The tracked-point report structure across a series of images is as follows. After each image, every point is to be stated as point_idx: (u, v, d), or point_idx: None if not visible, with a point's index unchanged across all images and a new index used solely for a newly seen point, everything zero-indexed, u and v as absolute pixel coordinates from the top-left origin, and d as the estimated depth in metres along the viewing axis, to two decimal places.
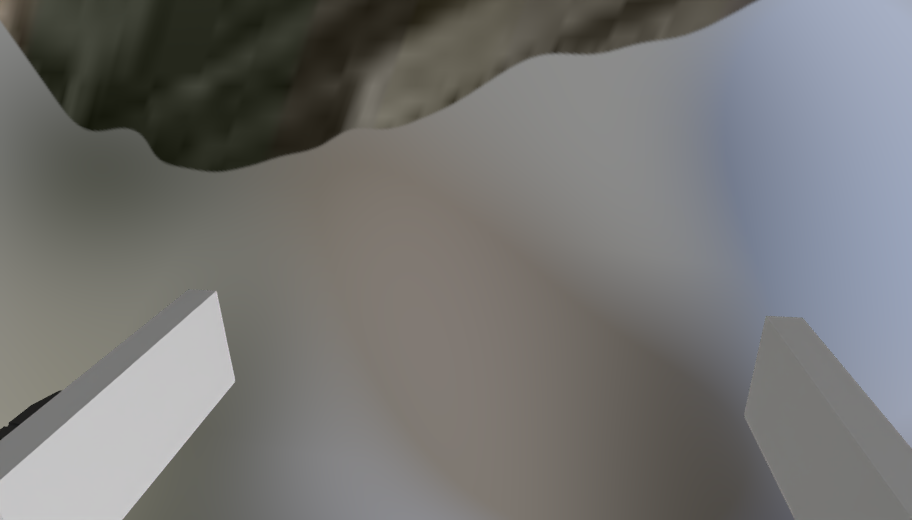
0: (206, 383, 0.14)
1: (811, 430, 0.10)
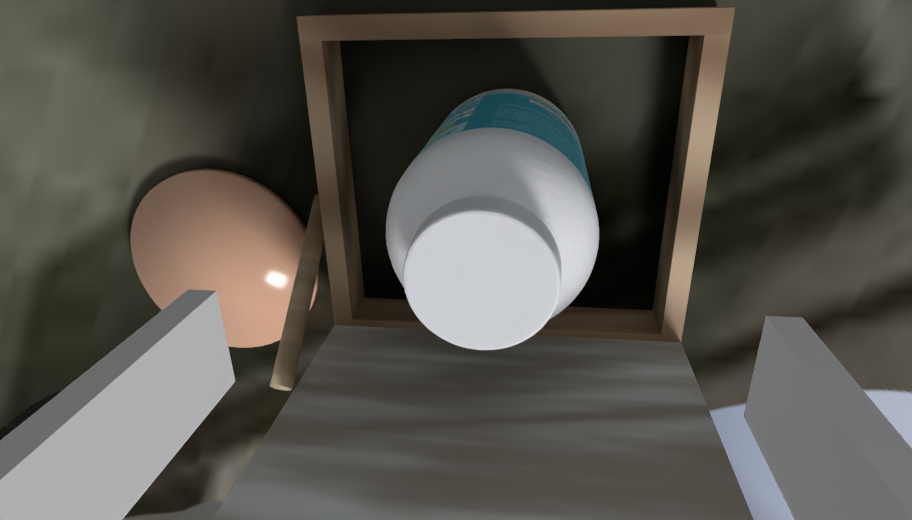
0: (206, 383, 0.14)
1: (810, 430, 0.10)
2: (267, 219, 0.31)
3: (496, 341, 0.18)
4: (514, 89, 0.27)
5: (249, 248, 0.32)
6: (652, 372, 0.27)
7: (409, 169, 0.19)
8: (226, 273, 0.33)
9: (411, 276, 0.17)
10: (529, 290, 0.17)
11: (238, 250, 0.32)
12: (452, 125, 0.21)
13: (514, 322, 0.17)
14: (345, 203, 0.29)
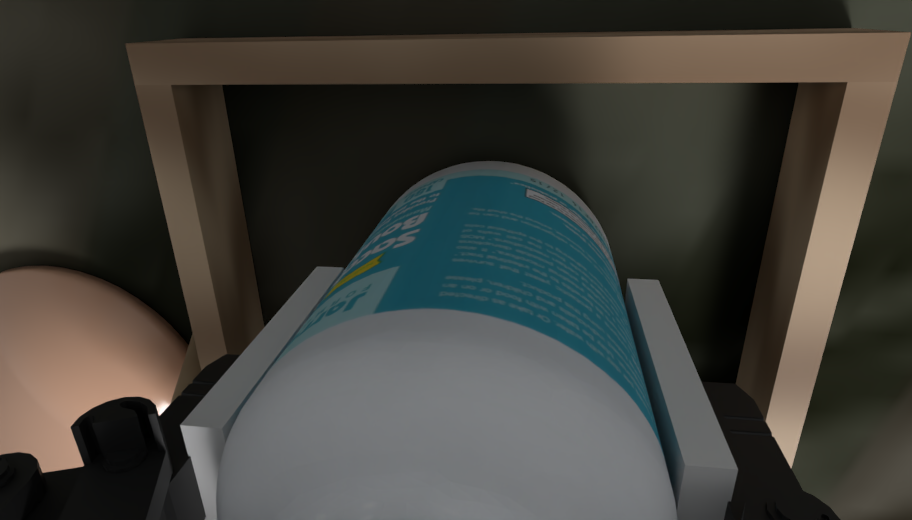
0: None
1: (641, 368, 0.12)
2: (132, 341, 0.21)
3: None
4: (502, 163, 0.16)
5: (110, 380, 0.22)
6: None
7: (253, 401, 0.08)
8: (82, 412, 0.23)
9: None
10: None
11: (95, 382, 0.22)
12: (371, 267, 0.11)
13: None
14: (238, 331, 0.19)
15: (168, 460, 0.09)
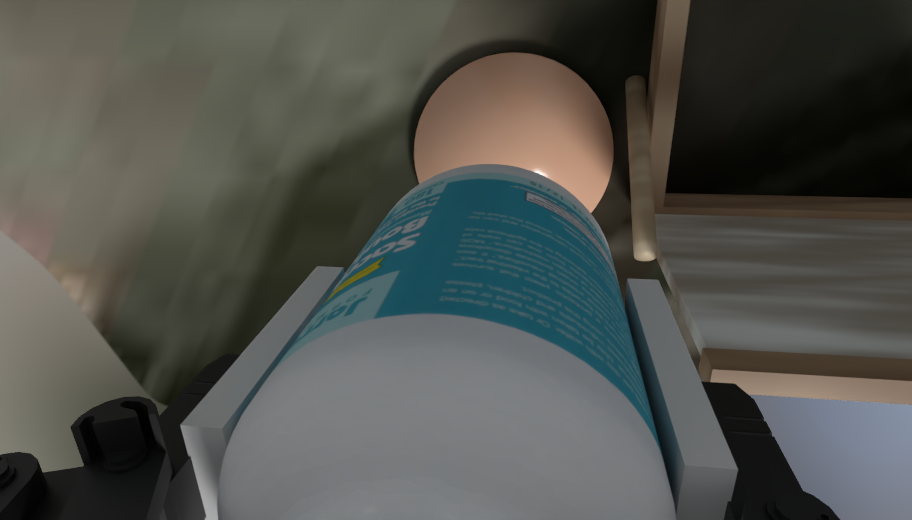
0: None
1: (641, 368, 0.12)
2: (573, 104, 0.30)
3: None
4: (502, 166, 0.16)
5: (545, 138, 0.31)
6: None
7: (254, 406, 0.09)
8: None
9: None
10: None
11: (533, 140, 0.32)
12: (372, 271, 0.11)
13: None
14: None
15: (168, 460, 0.09)
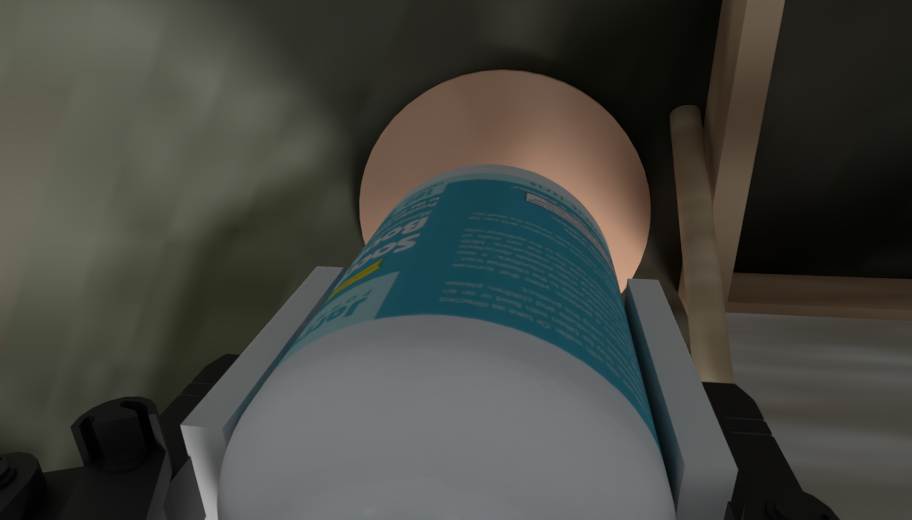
0: None
1: (640, 369, 0.12)
2: (591, 147, 0.20)
3: None
4: (502, 167, 0.16)
5: None
6: None
7: (254, 407, 0.09)
8: None
9: None
10: None
11: None
12: (372, 272, 0.11)
13: None
14: None
15: (168, 460, 0.09)
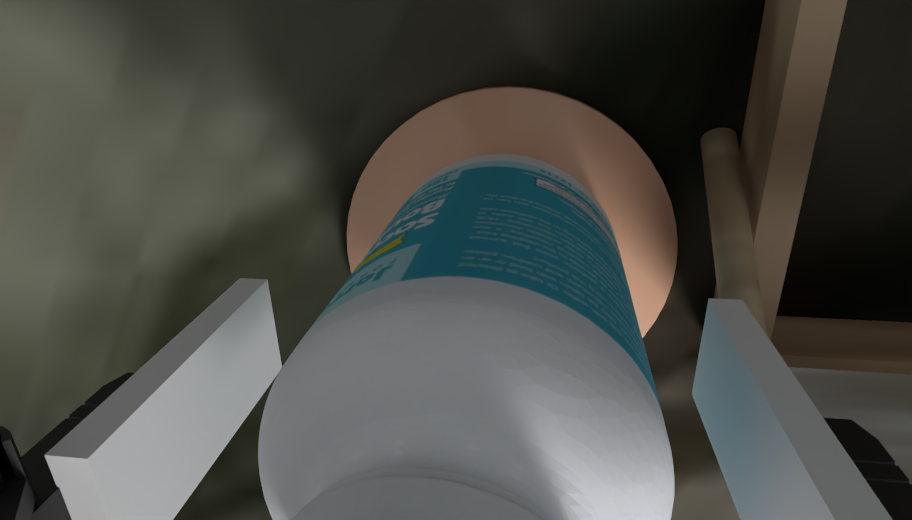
0: (258, 368, 0.15)
1: (739, 401, 0.11)
2: (610, 175, 0.18)
3: None
4: (513, 156, 0.17)
5: None
6: None
7: (293, 359, 0.10)
8: None
9: None
10: None
11: None
12: (395, 245, 0.12)
13: None
14: None
15: (30, 488, 0.09)
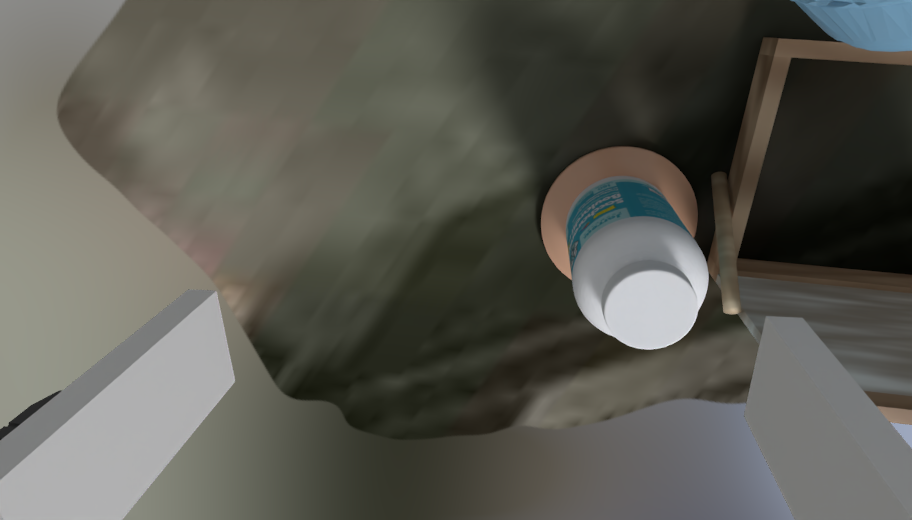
0: (206, 383, 0.14)
1: (810, 430, 0.10)
2: (671, 188, 0.40)
3: (653, 344, 0.30)
4: (632, 177, 0.39)
5: None
6: None
7: (599, 238, 0.32)
8: None
9: (610, 304, 0.30)
10: (679, 316, 0.29)
11: None
12: (613, 208, 0.34)
13: (666, 334, 0.30)
14: None
15: None
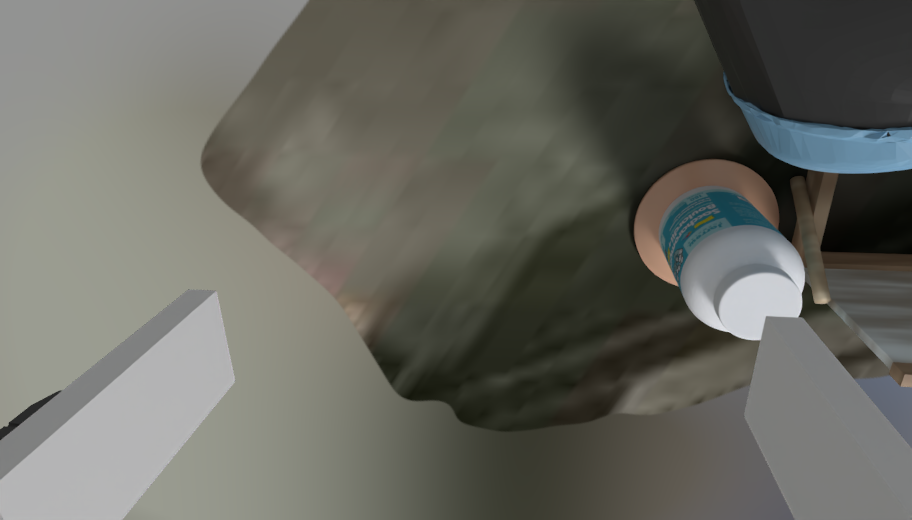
0: (206, 383, 0.14)
1: (810, 430, 0.10)
2: (753, 193, 0.45)
3: None
4: (719, 186, 0.44)
5: None
6: None
7: (706, 246, 0.37)
8: None
9: (724, 303, 0.35)
10: (785, 310, 0.34)
11: None
12: (712, 218, 0.39)
13: None
14: None
15: None
